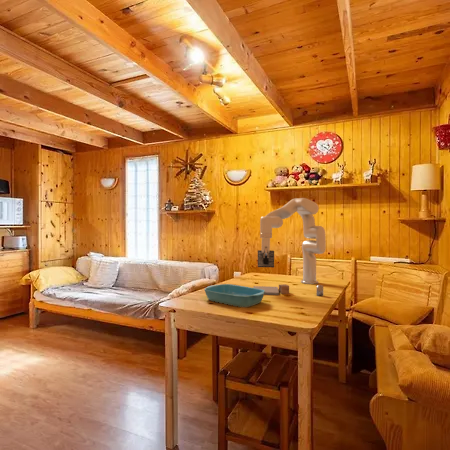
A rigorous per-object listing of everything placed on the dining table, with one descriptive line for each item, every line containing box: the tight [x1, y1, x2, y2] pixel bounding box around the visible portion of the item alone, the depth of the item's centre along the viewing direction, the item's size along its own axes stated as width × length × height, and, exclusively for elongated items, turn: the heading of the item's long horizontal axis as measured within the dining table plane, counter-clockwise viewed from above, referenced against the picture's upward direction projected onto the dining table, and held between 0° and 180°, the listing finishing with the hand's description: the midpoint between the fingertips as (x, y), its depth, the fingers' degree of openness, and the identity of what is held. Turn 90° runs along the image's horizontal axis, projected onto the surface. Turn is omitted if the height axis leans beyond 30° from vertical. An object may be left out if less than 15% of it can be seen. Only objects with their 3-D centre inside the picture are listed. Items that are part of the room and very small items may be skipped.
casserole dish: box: [203, 283, 265, 308], centre depth 177 cm, size 37×22×7 cm, turn 50°
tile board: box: [252, 285, 280, 296], centre depth 202 cm, size 18×16×2 cm
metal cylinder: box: [316, 284, 324, 297], centre depth 192 cm, size 4×4×6 cm
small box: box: [257, 249, 275, 268], centre depth 202 cm, size 11×6×10 cm, turn 84°
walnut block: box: [278, 283, 290, 295], centre depth 198 cm, size 5×5×5 cm
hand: (265, 263), depth 202 cm, fingers closed on small box, 6 cm apart
